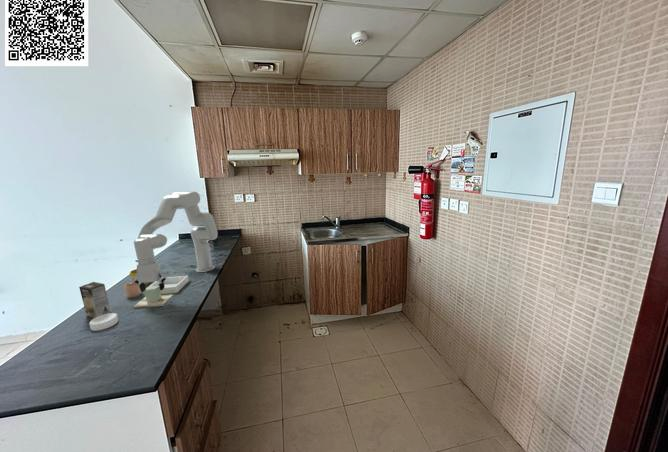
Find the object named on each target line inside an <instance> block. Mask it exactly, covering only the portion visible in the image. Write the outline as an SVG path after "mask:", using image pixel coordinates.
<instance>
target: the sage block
mask: <svg viewBox="0 0 668 452" xmlns="http://www.w3.org/2000/svg"><path fill="white" fill-rule="evenodd" d="M148 287H149V286H148ZM146 288H147V287H146ZM144 295H145V296H144V297H146V300H147V303H148V302H157V301H158V300H159V299H160V298H161V295H162V294H161V292H160V287H159V286H152V287H149V288H147V289H146V290H145V291H144Z"/></svg>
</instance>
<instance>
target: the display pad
mask: <svg viewBox="0 0 668 452" xmlns="http://www.w3.org/2000/svg"><path fill="white" fill-rule="evenodd" d="M174 294H175V293H170V294H161V298H160V299H159V300H158V301H157V302H148V303H147V300H146V296H144V297H143V298H141V300H139V301H138V302H137V303H136V304H134V305H133V307H132V308H133V309H143V308H152V307H154V308H155V307H164V306H165V305H166V304H167V302H168V301H169V300H170V299H171V298H172V296H174Z"/></svg>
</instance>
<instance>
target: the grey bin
mask: <svg viewBox="0 0 668 452" xmlns="http://www.w3.org/2000/svg"><path fill="white" fill-rule="evenodd" d="M161 278H162V279H163V277H161ZM189 279H190V278H189V275H180V276H179V275H178V276H167V278H166V280H165V281H164V286H165V287H164V289H163V290H160V292H161V295H166V294H178V292H179V291H181V289H182V288H183V287H185V286H186V285H187V284H188V283H189V281H190V280H189ZM159 284H160V283H159V282H158V281H155V282H152V283H151V284H150V285H149V286H147V287H145V288H146V289H147V288H149V287H152V286H159Z"/></svg>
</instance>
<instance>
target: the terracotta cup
mask: <svg viewBox="0 0 668 452" xmlns="http://www.w3.org/2000/svg"><path fill="white" fill-rule="evenodd" d="M124 291H125V296H126V298H127V299H129V298H130V299H131V298H137V297H139V296H141V295H142V293H143V292H141V290H140V287H139V285H138V284H137V283H135V281H133V280H132V281H128V282H126V283H124Z"/></svg>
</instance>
